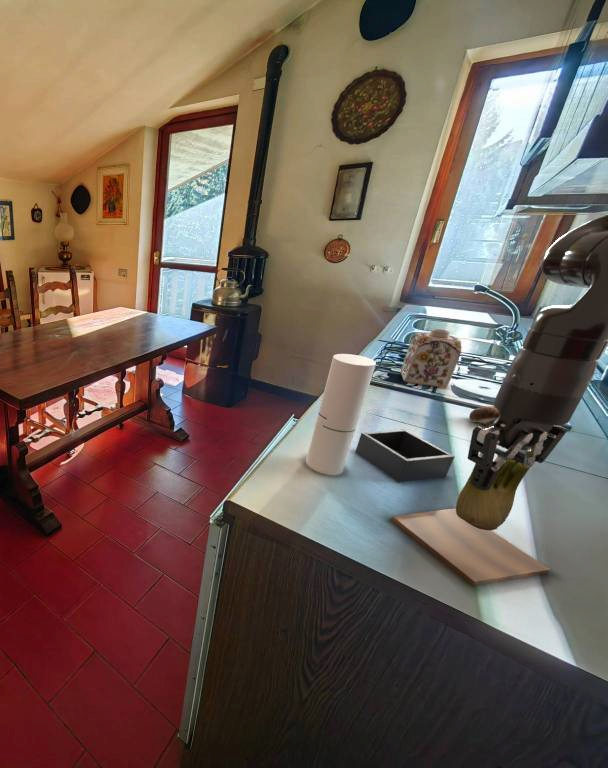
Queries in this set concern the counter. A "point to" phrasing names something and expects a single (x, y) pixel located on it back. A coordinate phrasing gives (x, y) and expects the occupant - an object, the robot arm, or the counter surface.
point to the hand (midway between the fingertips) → (493, 485)
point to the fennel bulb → (491, 497)
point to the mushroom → (485, 415)
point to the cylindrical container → (339, 412)
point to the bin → (404, 455)
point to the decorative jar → (431, 358)
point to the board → (469, 547)
